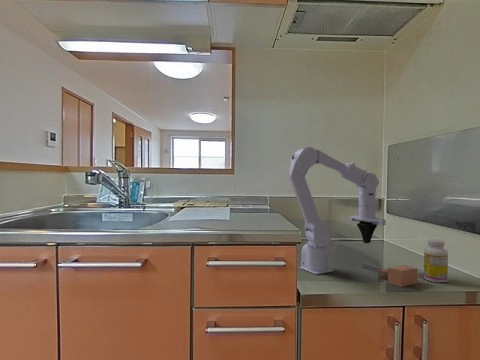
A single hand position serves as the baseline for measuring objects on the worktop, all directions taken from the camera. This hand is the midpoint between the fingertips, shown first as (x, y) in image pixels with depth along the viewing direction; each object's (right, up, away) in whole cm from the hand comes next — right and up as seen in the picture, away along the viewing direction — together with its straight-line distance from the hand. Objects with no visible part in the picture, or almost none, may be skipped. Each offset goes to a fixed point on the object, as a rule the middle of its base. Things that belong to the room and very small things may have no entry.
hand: (366, 242), depth 121 cm
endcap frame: (+1, -10, -9) cm, 13 cm away
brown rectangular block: (+3, -10, -14) cm, 17 cm away
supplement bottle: (+17, -10, -14) cm, 24 cm away
